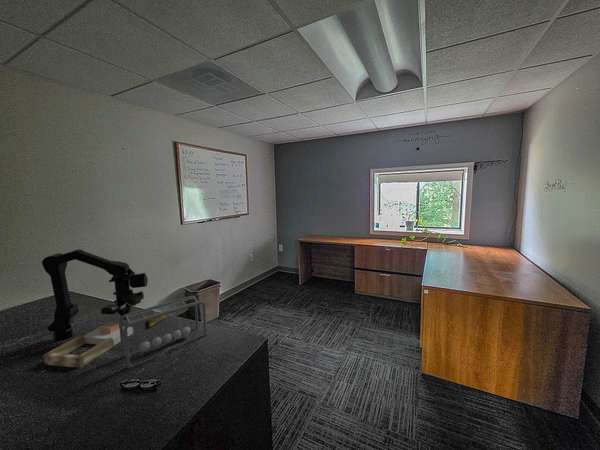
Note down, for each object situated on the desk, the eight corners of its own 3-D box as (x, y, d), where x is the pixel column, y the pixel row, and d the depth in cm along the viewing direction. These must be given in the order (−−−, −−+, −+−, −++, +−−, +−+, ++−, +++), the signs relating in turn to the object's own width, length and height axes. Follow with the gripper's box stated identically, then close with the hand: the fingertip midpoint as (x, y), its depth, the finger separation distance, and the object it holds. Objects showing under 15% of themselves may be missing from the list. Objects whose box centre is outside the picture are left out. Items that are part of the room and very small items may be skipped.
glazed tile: (100, 332, 109) (99, 327, 109) (111, 326, 115) (110, 321, 115) (110, 333, 109) (110, 328, 108) (121, 327, 114) (120, 322, 114)
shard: (149, 328, 118) (149, 324, 118) (136, 326, 120) (136, 322, 120) (167, 318, 128) (166, 314, 128) (155, 316, 130) (155, 313, 130)
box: (44, 364, 93) (43, 354, 93) (81, 343, 106) (80, 335, 106) (80, 368, 91) (79, 358, 90) (113, 346, 104) (112, 337, 104)
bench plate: (82, 343, 107) (81, 336, 107) (103, 331, 117) (103, 325, 116) (114, 345, 104) (113, 339, 104) (133, 333, 114) (132, 327, 114)
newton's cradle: (127, 371, 89) (123, 325, 87) (122, 358, 96) (118, 315, 94) (207, 338, 110) (205, 300, 108) (198, 329, 117) (196, 294, 115)
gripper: (120, 297, 107) (123, 330, 109) (151, 283, 126) (154, 311, 127) (98, 296, 109) (102, 329, 111) (132, 282, 127) (135, 310, 129)
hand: (125, 319), depth 119 cm, fingers closed
